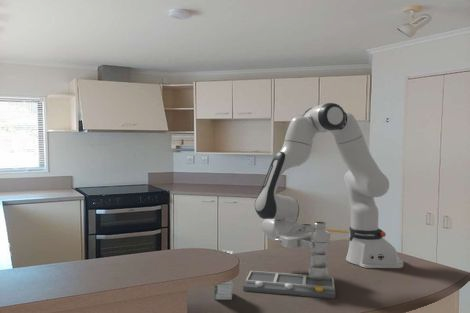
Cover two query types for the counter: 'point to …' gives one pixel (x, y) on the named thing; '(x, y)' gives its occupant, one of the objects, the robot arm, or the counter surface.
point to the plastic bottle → (319, 253)
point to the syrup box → (224, 289)
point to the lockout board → (289, 284)
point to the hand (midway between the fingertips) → (320, 243)
